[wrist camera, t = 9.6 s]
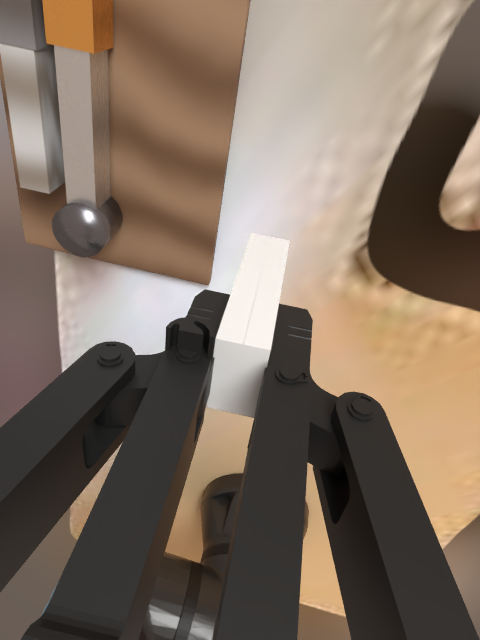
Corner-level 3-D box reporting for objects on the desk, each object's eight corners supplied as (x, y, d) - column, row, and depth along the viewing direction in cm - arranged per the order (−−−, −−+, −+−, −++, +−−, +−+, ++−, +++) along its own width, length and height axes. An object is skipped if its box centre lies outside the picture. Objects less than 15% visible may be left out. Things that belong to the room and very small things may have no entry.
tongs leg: (122, 240, 41) (104, 262, 38) (75, 229, 41) (54, 250, 38) (122, -42, 29) (95, -44, 25) (55, -56, 29) (20, -59, 26)
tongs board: (210, 280, 43) (199, 307, 40) (30, 238, 44) (3, 261, 40) (255, -35, 28) (243, -37, 25) (-18, -91, 29) (-67, -100, 26)
